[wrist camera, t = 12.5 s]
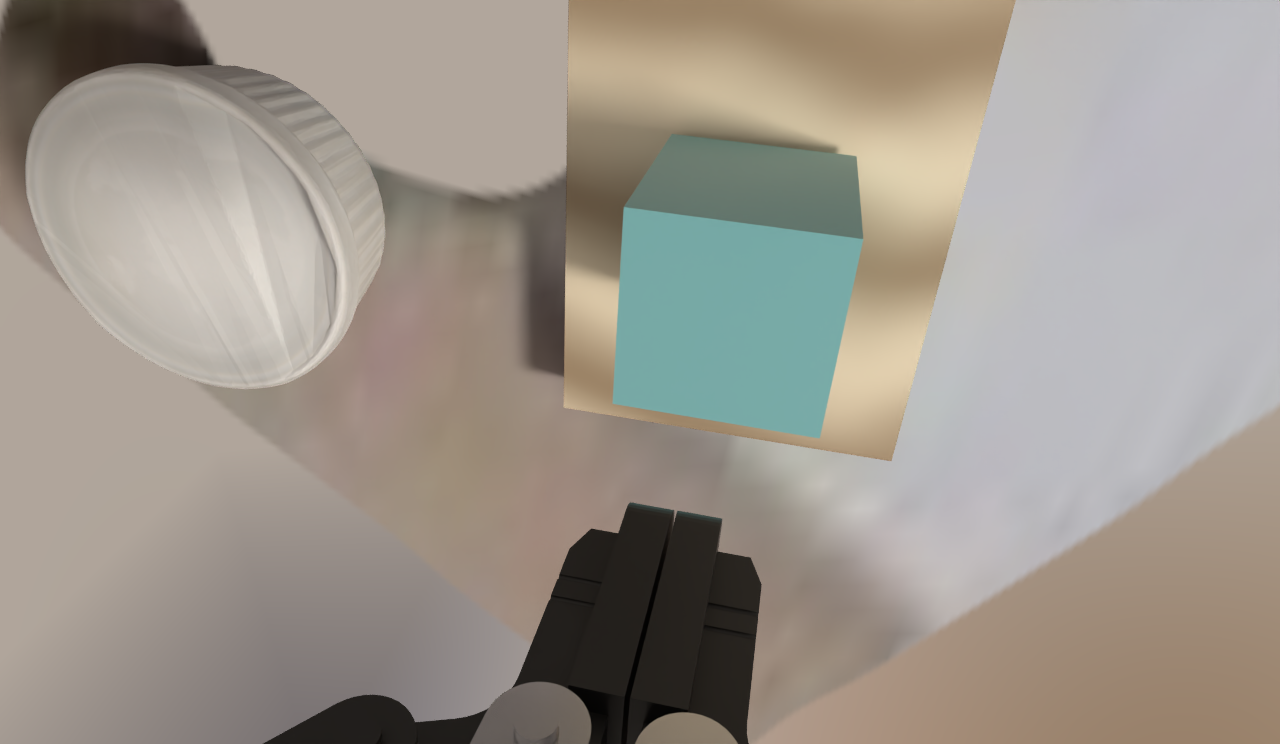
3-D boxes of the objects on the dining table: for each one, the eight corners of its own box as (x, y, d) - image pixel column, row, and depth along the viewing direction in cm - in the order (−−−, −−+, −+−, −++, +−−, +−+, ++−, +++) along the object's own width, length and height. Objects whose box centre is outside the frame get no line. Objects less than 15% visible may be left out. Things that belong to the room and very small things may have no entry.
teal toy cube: (671, 134, 24) (623, 207, 19) (856, 156, 24) (863, 239, 18) (658, 297, 27) (612, 403, 22) (822, 322, 26) (819, 438, 21)
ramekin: (473, 228, 30) (411, 287, 26) (302, 372, 35) (225, 442, 31) (240, -36, 27) (123, -20, 23) (89, 165, 32) (-30, 210, 28)
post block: (588, -81, 24) (484, -67, 17) (1012, -49, 23) (1096, -18, 15) (577, 380, 33) (505, 520, 25) (888, 429, 31) (904, 594, 24)
